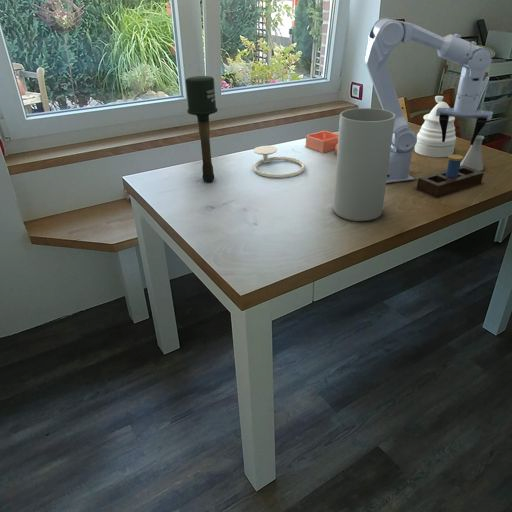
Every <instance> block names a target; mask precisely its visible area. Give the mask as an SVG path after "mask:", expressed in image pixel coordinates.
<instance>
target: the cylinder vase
mask: <svg viewBox="0 0 512 512" xmlns="http://www.w3.org/2000/svg"><path fill="white" fill-rule="evenodd" d="M394 122H395V114H394V113H392V112H390V111H387V110H383V109H382V108H372V107H358V108H350V109H345V110H343V111H341V112H340V113H339V125H338V135H339V137H338V152H337V155H336V169H335V183H334V197H333V211H334V213H335V214H336V215H337V216H339V217H340V218H342V219H344V220H348V221H353V222H368V221H373V220H376V219H378V218H379V217H380V216H381V215H382V214H383V209H384V203H385V202H384V201H385V196H386V188H387V183H386V181H387V174H388V166H389V159H390V151H391V144H392V137H393V129H394Z"/></svg>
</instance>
